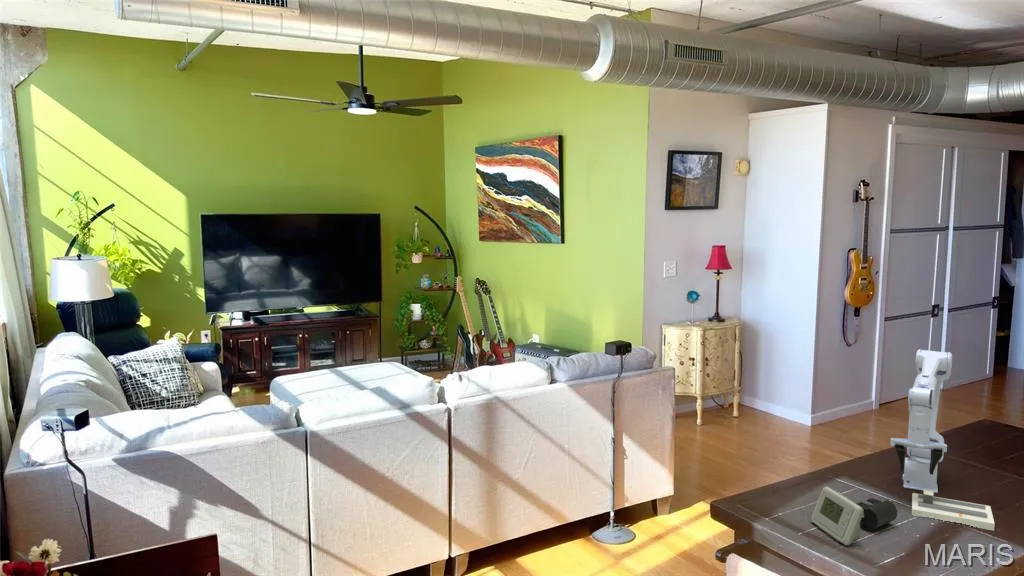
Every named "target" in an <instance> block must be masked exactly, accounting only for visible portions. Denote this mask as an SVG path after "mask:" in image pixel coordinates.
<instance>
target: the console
mask: <svg viewBox="0 0 1024 576" xmlns="http://www.w3.org/2000/svg"><path fill="white" fill-rule="evenodd" d="M991 507H992V506H991V505H986V504H979V503H974V502H970V501H969V502H968V501H962V500H958V499H950V498H945V497H938V496H933V505H931V504H926V503H923V494H920V493H915V492H912V495H911V516H912V515H913V517H916V516H922V517H929V518H935V519H940V520H943V521H942V522H944V521H950V522H956V523H962V524H966V525H970V526H969V527H971V526H973V528H976V527H977V528H978V529H982V530H988V531H993V532H994V531H995V526H996V525H995V520H994V516H993V512H992V511H993V510H992V508H991ZM922 517H921V518H922Z"/></svg>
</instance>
